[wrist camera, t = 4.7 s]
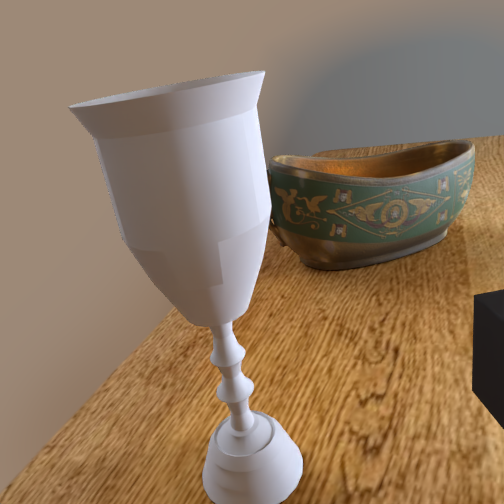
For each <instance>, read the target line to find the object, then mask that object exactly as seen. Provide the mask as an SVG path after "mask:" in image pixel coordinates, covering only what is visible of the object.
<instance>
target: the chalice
mask: <svg viewBox="0 0 504 504" xmlns="http://www.w3.org/2000/svg"><path fill="white" fill-rule="evenodd" d="M264 74H265V71H255V72H245V73H238V74H231V75H224V76H218V77H212V78H205V79H200V80H194V81H188V82H182V83H176V84H171V85H165V86H160V87H154V88H149V89H144V90H139V91H133V92H128V93H123V94H119V95H114V96H109V97H104V98H100V99H96V100H91V101H86V102H82V103H78V104H75V105H72V106H69V107H68V108H69V109H70V111H71V112H72V113H73V114H74V115H75V116H76V118H77V119H78V120H79V121H80V122H81V124H82V125H83V126H84V127H85V128H86V129H87V131H88V132H89V133H90V134H91V135H92V137H93V140H94V143H95V147H96V150H97V154H98V157H99V160H100V164H101V168H102V171H103V174H104V178H105V181H106V185H107V188H108V192H109V195H110V198H111V201H112V205H113V208H114V212H115V216H116V219H117V222H118V226H119V229H120V233H121V236H122V239H123V240H124V242H125V243H126V245H127V246H128V248H129V249H130V250H131V252H132V253H133V255H134V256H135V258H136V259H137V261H138V262H139V264H140V265H141V266H142V268H143V269H144V271H145V272H146V273H147V275H148V277H149V278H150V279H151V281H152V282H153V283H154V284H155V285H156V286H157V288H158V289H159V290H160V291H161V292H162V293H163V294H164V295H165V296H166V297H167V298H168V299H169V300H170V302H171V303H172V304H173V305H174V306H175V307H176V308H177V309H178V310H179V311H180V312H181V314H182V315H183V316H184V317H185V318H186V319H187V320H188V321H189V322H190V323H192V324H194V325H196V326H203V327H210V329H211V331H212V333H213V346H214V350H213V352H212V354H211V356H210V360H211V362H212V364H214V365H215V366H217V367H218V368H219V370H220V372H221V373H222V383H221V384H220V385H219V386H218V388H217V392H216V393H217V397H218V398H219V399H220V400H221V401H223V402H226V403H227V405H228V407H229V409H230V411H231V416H229V417H227V418H226V419H225V420H223V421H222V422H221V423H220V424H219V426H218V427H217V428H216V430H215V431H214V433H213V434H212V436H211V439H210V442H209V448H208V452H207V456H206V462H205V465H204V469H203V473H202V478H203V487H204V489H205V491H206V493H207V495H208V496H209V498H210V500H212V501H213V502H214V503H216V504H279V503H280V502H282V501H284V500H285V499H286V498H287V497H288V496H289V495H290V494H291V493H292V492H293V490H294V489H295V488H296V487H297V485H298V482H299V480H300V478H301V475H302V469H303V459H302V456H301V453H300V451H299V448H298V447H297V445H296V444H295V443H294V442H293V441H292V440H291V439H290V437H289V435H288V434H287V433H286V432H285V431H284V430H283V429H282V426H281V425H280V424H279V423H278V422H277V421H276V419H274V418H272V417H270V416H268V415H266V414H264V413H262V412H258V411H250V409H249V407H248V398H249V396H250V395H251V393H252V392H253V389H254V385H253V382H252V381H251V380H250V379H249V378H247V377H244V375H243V373H242V372H241V361H242V359H243V358H244V356H245V350H244V348H243V347H242V346H240V345H239V344H238V342H237V340H236V338H235V336H234V334H233V331H232V321H233V320H236V319H237V318H239V317H240V316H241V315H243V314H244V313H245V311H246V310H247V309H248V306H249V303H250V299H251V296H252V293H253V289H254V286H255V283H256V280H257V276H258V273H259V270H260V266H261V263H262V260H263V255H264V251H265V245H266V238H267V232H268V226H269V220H270V213H271V207H272V205H271V198H270V192H269V185H268V179H267V172H266V166H265V159H264V153H263V146H262V140H261V134H260V127H259V120H258V114H257V107H256V104H257V101H258V97H259V93H260V90H261V86H262V82H263V78H264Z"/></svg>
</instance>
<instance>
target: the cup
mask: <svg viewBox="0 0 504 504" xmlns="http://www.w3.org/2000/svg"><path fill="white" fill-rule="evenodd" d="M474 166H475V148H474V144H473V143H472V142H471V141H468V140H451V141H450V140H448V141H442V142H437V143H430V144H426V145H422V146H417V147H412V148H408V149H403V150H399V151H395V152H390V153H385V154H380V155H373V156H364V157H354V158H323V157H310V156H309V157H308V156H299V155H277V156H274V157H272V158H271V160H270V162H269V169H268V170H266V172H267V179H268V185H269V192H270V198H271V205H272V207H271V213H270V220H269V226H268V228H269V229H270V230H271V231H272V233H273V234H274V235H275V236H276V238H277V239H278V240H279V241H280V245H281V246H282V247H284V246H289V247H290V248H291V249H292V250H293V251H294V252H296V253H297V254H298V255H299V257H300V261H301V262H302V263H304V264H305V265H307V266H310V267H313V268H316V269H323V270H338V269H349V268H356V267H362V266H367V265H372V264H377V263H381V262H386V261H389V260H393V259H397V258H400V257H404V256H407V255H410V254H412V253H415V252H418V251H420V250H423V249H426V248H428V247H430V246H432V245H434V244H436V243H438V242H440V241H441V240H442V239H444V237H445V236H446V235H447V229H448V227H449V226H450V225H451V224H452V223H453V222H454V221H455V219H456V218H457V217H458V215H459V214H460V212H461V210H462V208H463V207H464V204H465V202H466V199H467V197H468V194H469V190H470V188H471V184H472V179H473V172H474ZM271 219H273V221H274V224H273V223H272V221H271Z"/></svg>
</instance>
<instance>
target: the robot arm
mask: <svg viewBox="0 0 504 504" xmlns="http://www.w3.org/2000/svg"><path fill="white" fill-rule="evenodd" d="M472 391H473V392H474V393H475V395H476V396H477V397H478V398H479V399H480V401H481V402H482V403H483V404H484V406H485V407H486V408H487V409H488V411H489V412H490V413H491V414H492V416H493V417H494V418H495V419H496V420H497V422H498V423H499V424H500V425H501V427H502V428H503V429H504V290H498V291H493V292H488V293H483V294H477V295H474V320H473V369H472Z"/></svg>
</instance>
